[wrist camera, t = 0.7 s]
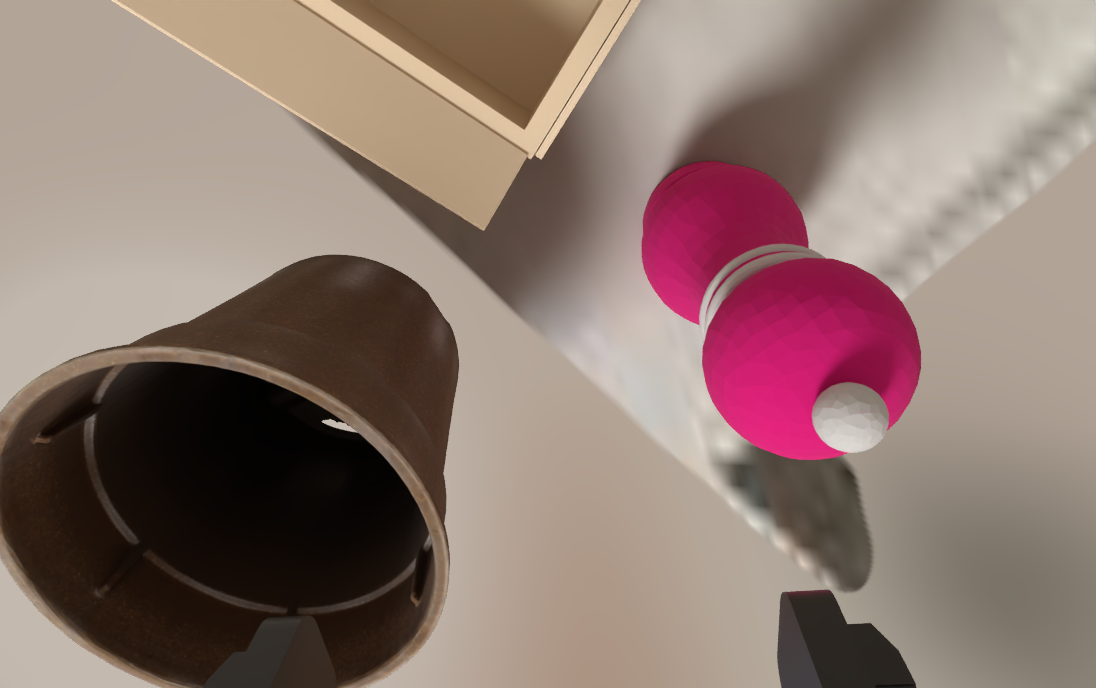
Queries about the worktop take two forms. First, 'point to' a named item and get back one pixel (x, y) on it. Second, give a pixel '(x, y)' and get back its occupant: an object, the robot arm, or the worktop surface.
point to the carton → (413, 76)
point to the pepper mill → (778, 315)
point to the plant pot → (242, 478)
